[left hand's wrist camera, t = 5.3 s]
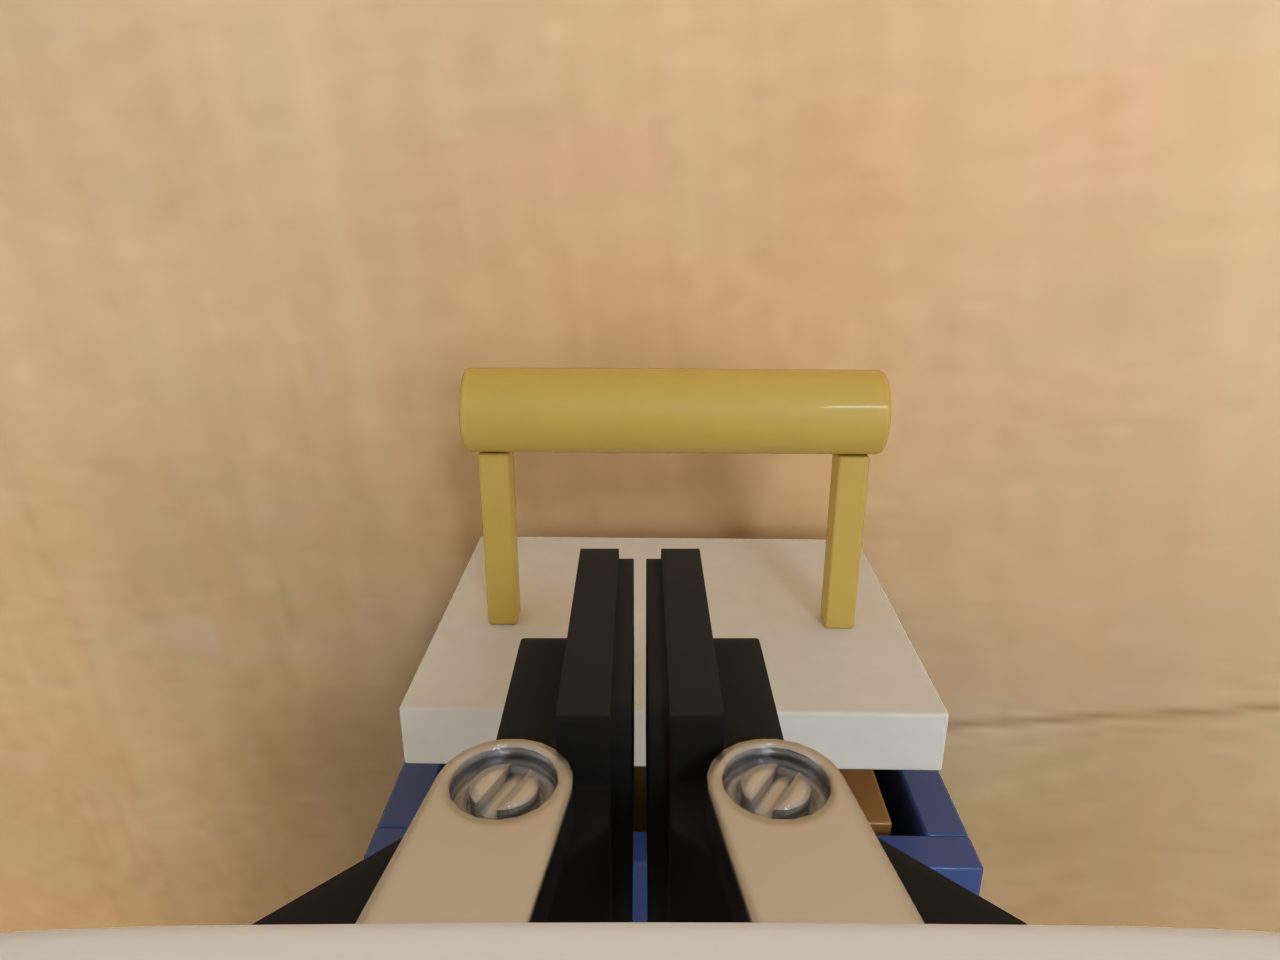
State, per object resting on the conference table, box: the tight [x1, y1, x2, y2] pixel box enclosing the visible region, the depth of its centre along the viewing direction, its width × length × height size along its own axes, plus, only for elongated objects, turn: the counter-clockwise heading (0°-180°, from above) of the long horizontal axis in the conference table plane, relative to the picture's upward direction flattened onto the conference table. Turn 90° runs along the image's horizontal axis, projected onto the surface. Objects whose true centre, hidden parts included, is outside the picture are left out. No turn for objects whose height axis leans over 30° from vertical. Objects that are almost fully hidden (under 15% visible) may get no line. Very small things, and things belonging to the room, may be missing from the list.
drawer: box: [399, 368, 949, 835], centre depth 21 cm, size 24×10×8 cm, turn 0°
